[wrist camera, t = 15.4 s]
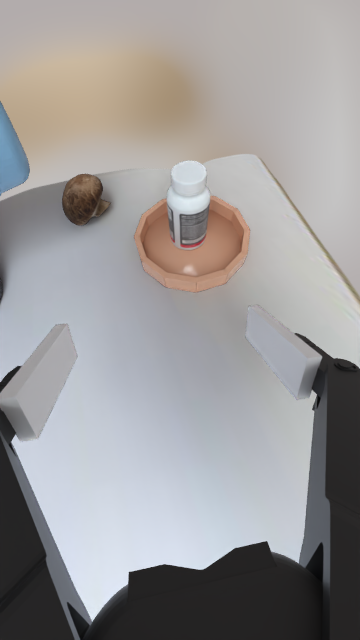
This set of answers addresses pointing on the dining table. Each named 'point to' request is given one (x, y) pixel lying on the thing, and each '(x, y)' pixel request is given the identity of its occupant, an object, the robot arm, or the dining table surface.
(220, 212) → the bowl
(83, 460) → the dining table surface
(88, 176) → the mushroom
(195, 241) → the pill bottle
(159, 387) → the dining table surface
